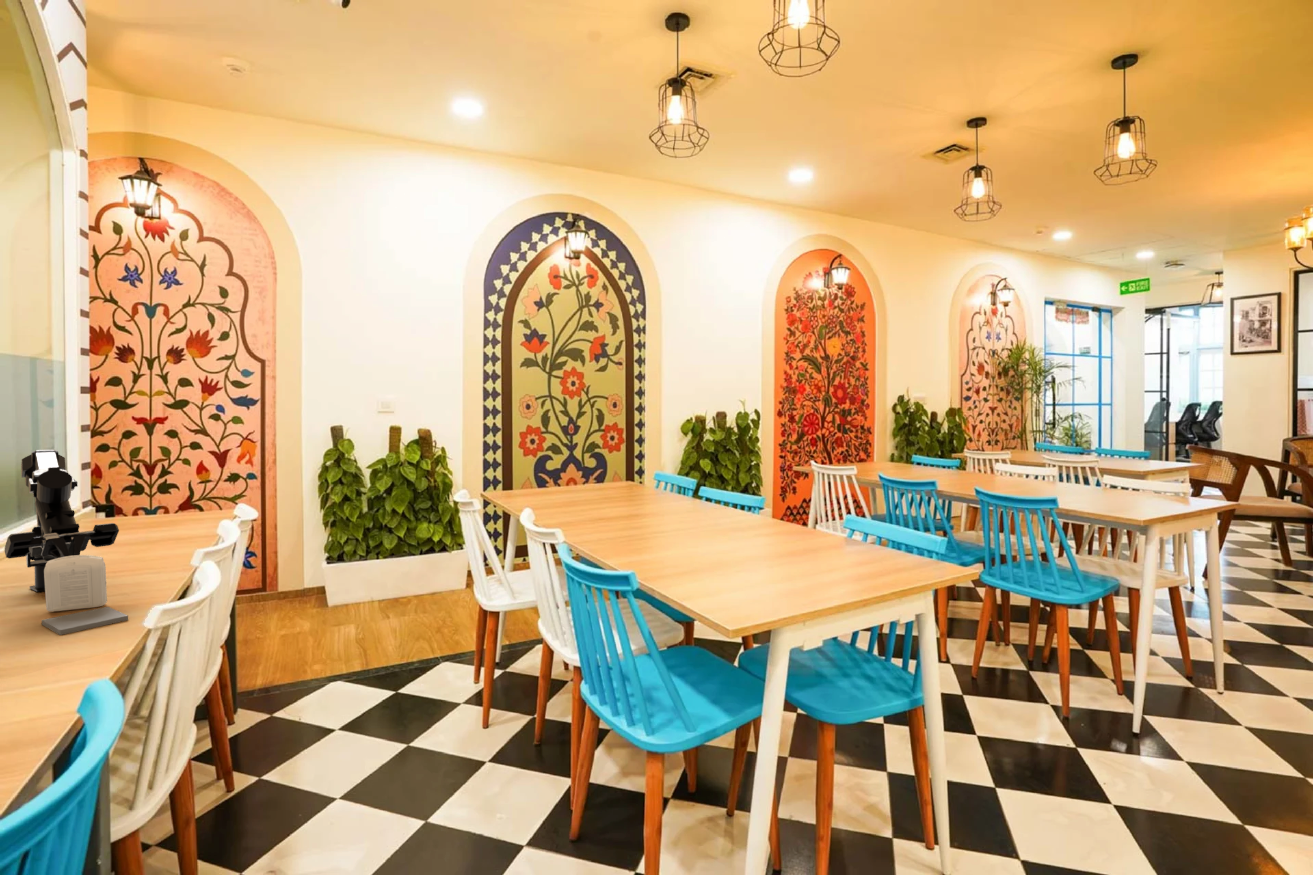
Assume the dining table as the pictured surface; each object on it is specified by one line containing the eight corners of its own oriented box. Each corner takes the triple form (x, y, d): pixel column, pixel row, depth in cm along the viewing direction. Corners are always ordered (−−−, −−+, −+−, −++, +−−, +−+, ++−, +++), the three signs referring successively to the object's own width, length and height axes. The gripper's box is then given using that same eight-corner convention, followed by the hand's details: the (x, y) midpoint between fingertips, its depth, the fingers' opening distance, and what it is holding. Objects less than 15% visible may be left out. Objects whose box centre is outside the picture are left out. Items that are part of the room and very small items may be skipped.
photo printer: (109, 597, 147) (106, 549, 144) (105, 607, 143) (103, 558, 140) (49, 604, 141) (44, 554, 138) (44, 614, 138) (39, 563, 135)
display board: (41, 624, 131) (41, 619, 131) (108, 610, 141) (108, 606, 141) (59, 634, 125) (59, 630, 125) (128, 620, 135) (128, 615, 135)
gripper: (98, 531, 158) (116, 581, 153) (-7, 543, 142) (8, 599, 137) (110, 503, 154) (128, 552, 148) (2, 512, 138) (19, 568, 133)
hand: (73, 568), depth 142 cm, fingers closed
